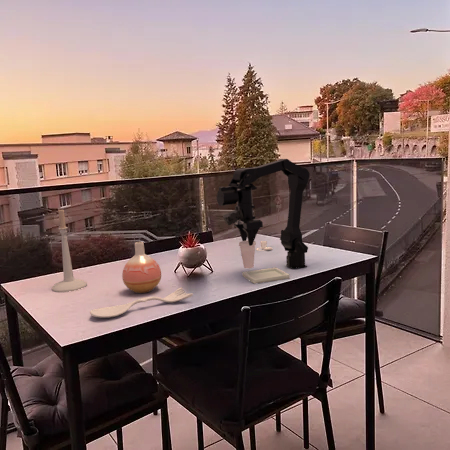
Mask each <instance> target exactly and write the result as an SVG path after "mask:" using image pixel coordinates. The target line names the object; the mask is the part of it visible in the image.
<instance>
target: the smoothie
mask: <svg viewBox="0 0 450 450" xmlns="http://www.w3.org/2000/svg"><path fill="white" fill-rule="evenodd" d="M256 244H257V242H256V241H255V240H254V242H253V245H251V246H250V245H249V243H248V240H246V241H242V240H241V241H239V242H238V246H239V248H240V253H241V259H242V264H243V269H253V268H254V266H255V265H254V264H255V253H256V252H255V250H256Z"/></svg>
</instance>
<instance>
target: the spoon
mask: <svg viewBox="0 0 450 450" xmlns="http://www.w3.org/2000/svg"><path fill="white" fill-rule="evenodd" d="M193 295H194V293H192V292H191V293H187V292H186V291H184V288H183V287H179V288H177V289H176V290H174V291H173V292H172V293H170V294H168V295H166V296H165V297H159V296H148V297H141V298H139V299H135V300H134V301H130V302H128V303H124V304H118V305H113V306H108V307H99V308H95V309H91V310H90V311H89V313H90V315H91V316H92V317H94V318H101V319H102V318H104V319H106V318H107V319H110V318H114V317H118V316H121V315H122V314H124V313H126V312H127V311H128V310H129V309H130V308H132V307H133V306H135V305H137V304H140V303H146V302H149V301H160V302H164V303H176V302H180V301H182V300H183V301H184V300H185V299H188V298H191V297H193Z"/></svg>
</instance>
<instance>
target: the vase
mask: <svg viewBox="0 0 450 450" xmlns="http://www.w3.org/2000/svg"><path fill="white" fill-rule="evenodd" d="M134 250H135V251H134V255H133V256H132V257H131V258H129V259H128V260H127V262H126V263H125V265H124V266H123V269H122V275H121V277H122V282H123V284H124V285H125V287H126V288H128V289H129V290H130V291H132V292H133V293H135V294H146V293H150V292H152V291H154V289H155V288H156V287H157V286H158V285H159V284H160V282H161V279H162V271H161V267H160V265H159V264H158V262H157V260H155V259H154V258H153V257H152V256H149V255H148V254H146V253H145V245H144V242H143V241H135V242H134Z"/></svg>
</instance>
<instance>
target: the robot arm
mask: <svg viewBox="0 0 450 450" xmlns="http://www.w3.org/2000/svg"><path fill="white" fill-rule="evenodd" d="M278 172H282V173H283V175H285V176H286V177H287V181H288V182H287V183H288V186H289V188H290V195H289V205H288V213H287V221H286V222H287V223H286V224H287V225H286V227H285V229H281V231H280V237H279V240H280V244H281V245H282V247H283V248H284V251H286V252H287V255H286V263H285V264H286V265H285V267H288V268H290V269H292V270H295V269H301V268H307V267H308V265H307V264H306V253H308V250H309V247H308V245H306V244H305V243H304V242H303V233H302V230H301V228H300V225H301V216H302V207H303V206H302V205H303V199H304V198H303V197H304V191H305V190H306V188H307V186H308V185H309V180H310V177H311V175H310V171H309V170H308V169H307V168H305V167H302V166H300V165H299V164H296V163H294V162H293V161H291V160H290V159H288V158H280V159H277V160H275V161H272V162H268V163H265V164H262V165H259V166H255V167H246V168H245V167H244V168H237V169H235V170H234V172H233V176H232V178H231V180H230V182H229V184H228V186H219V187H218V191H217V193H216V203H217V204H218V205H219V206H220V207H225V206H231V205H235V207H234V209H233V210H232V211H230V212H228V213H225V214H223V215H222V218H223V221H224V222H225V225H227V226H230V225H233V226H234V227H236V228H237V229H238V232H239V234H240V237H241V241H248V243H249V245H250V246H251V245H253V242H254V241H255V239H256V238H257V234H258V233H259V230H261V228H263V226H264V224H263V223H264V222H263V221H262V220H261V219H258V218H256V216H255V215H254V209H255V206H256V205H254V204H253V203H254V202H253V191H255V190H257V189H258V187H256V185H254V184H253V183H255V182H256V181H258V179H260V178H262V177H265V176H268V175H271V174H275V173H278Z"/></svg>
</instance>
